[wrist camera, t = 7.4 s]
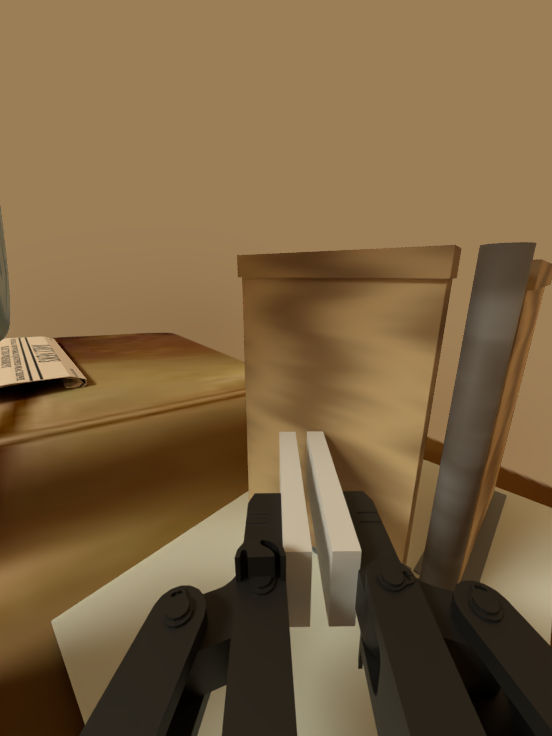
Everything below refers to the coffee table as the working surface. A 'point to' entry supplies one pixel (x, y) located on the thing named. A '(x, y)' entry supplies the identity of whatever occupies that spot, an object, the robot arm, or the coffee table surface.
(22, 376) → the newspaper
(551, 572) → the mat
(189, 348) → the coffee table surface
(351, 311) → the fence panel
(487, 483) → the panel
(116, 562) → the coffee table surface
